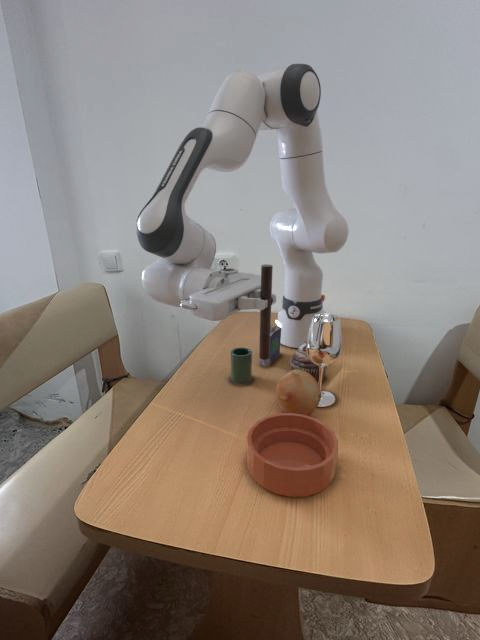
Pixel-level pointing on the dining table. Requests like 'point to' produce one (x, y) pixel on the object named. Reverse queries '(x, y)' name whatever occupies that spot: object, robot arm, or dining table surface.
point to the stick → (265, 311)
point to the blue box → (273, 344)
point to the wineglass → (324, 347)
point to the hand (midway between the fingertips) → (270, 302)
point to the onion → (298, 392)
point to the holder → (241, 365)
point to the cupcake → (305, 363)
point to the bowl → (292, 454)
